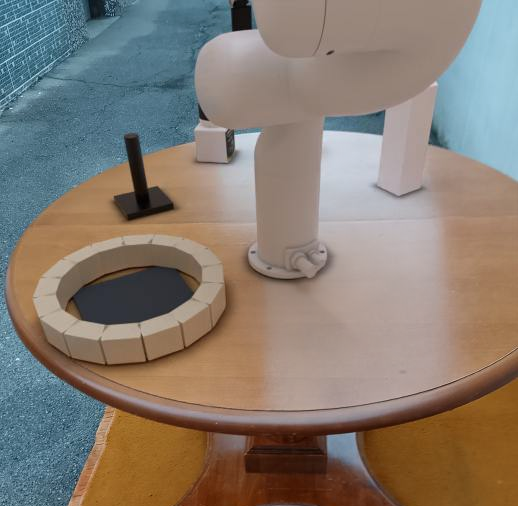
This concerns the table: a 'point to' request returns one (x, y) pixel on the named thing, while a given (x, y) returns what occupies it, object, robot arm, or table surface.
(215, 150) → the medicine bottle
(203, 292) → the hoop
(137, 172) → the post
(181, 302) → the mat
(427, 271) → the table surface
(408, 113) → the milk
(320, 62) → the robot arm
